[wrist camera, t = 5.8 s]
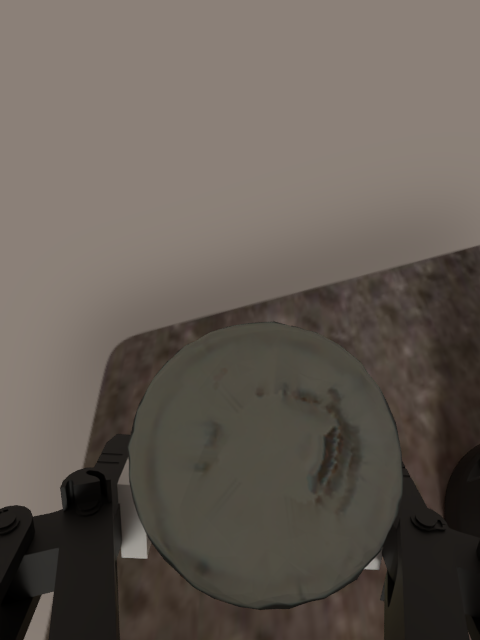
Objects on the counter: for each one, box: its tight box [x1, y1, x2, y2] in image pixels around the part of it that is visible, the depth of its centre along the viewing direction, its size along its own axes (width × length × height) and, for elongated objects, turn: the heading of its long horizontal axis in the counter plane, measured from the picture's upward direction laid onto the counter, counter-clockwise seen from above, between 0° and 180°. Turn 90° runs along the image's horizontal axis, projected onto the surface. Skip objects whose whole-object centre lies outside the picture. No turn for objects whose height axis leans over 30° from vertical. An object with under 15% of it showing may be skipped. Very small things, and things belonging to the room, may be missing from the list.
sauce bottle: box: [127, 322, 404, 610], centre depth 15 cm, size 6×6×20 cm
